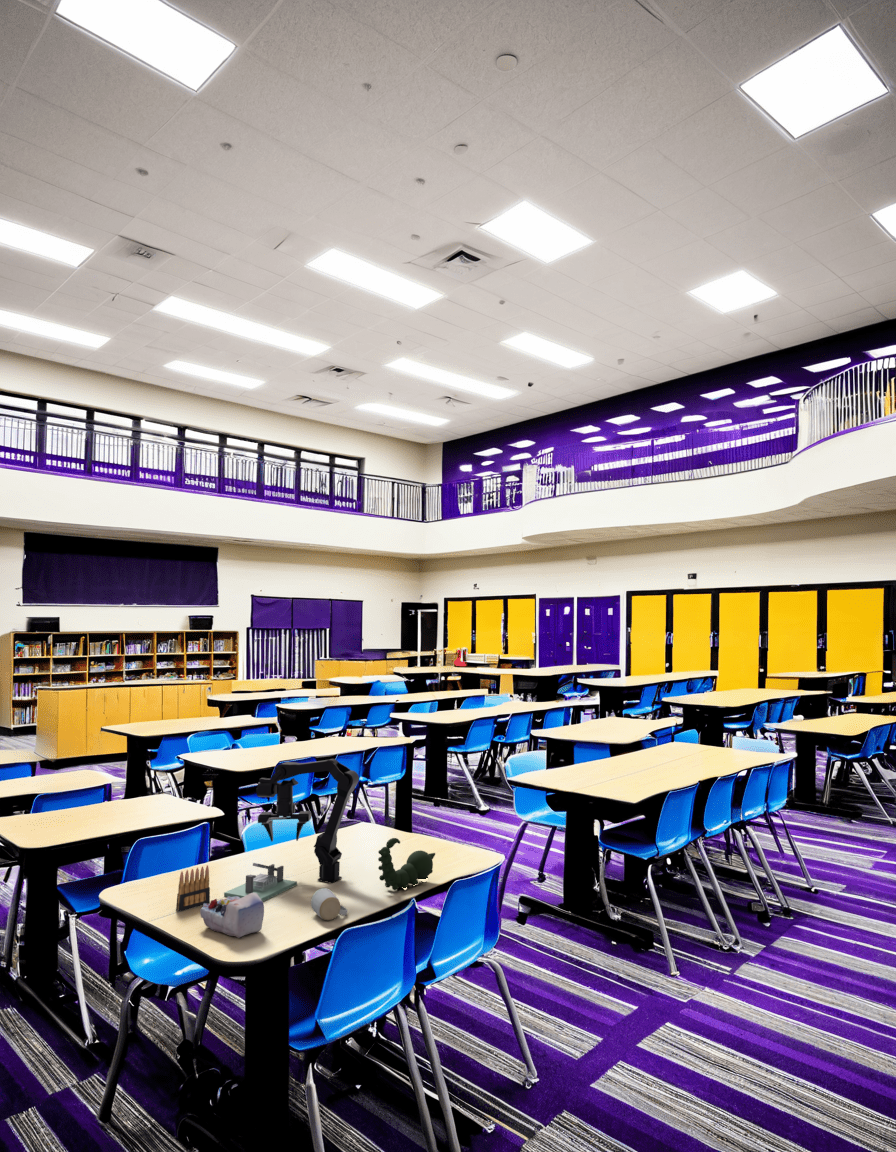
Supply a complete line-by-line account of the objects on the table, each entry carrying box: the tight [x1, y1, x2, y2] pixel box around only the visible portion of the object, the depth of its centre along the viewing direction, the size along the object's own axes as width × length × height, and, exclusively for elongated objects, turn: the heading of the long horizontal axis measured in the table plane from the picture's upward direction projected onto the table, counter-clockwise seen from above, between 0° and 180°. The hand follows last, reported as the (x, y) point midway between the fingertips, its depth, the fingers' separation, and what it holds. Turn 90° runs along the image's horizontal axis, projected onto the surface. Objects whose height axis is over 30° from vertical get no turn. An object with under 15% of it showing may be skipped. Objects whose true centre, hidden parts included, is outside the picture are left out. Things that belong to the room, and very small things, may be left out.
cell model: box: [199, 893, 265, 939], centre depth 211 cm, size 13×11×20 cm
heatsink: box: [253, 873, 277, 892], centre depth 245 cm, size 7×8×3 cm
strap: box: [252, 862, 277, 872], centre depth 247 cm, size 12×3×1 cm, turn 155°
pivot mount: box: [267, 863, 284, 883], centre depth 252 cm, size 5×3×5 cm, turn 66°
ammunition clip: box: [175, 864, 211, 912], centre depth 229 cm, size 11×2×12 cm, turn 138°
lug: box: [245, 874, 257, 893], centre depth 240 cm, size 2×2×5 cm
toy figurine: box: [377, 837, 436, 891], centre depth 251 cm, size 9×19×25 cm
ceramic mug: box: [310, 887, 348, 921], centre depth 222 cm, size 11×8×8 cm
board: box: [223, 878, 298, 902], centre depth 245 cm, size 15×20×1 cm
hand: (284, 841), depth 262 cm, fingers open, 9 cm apart
